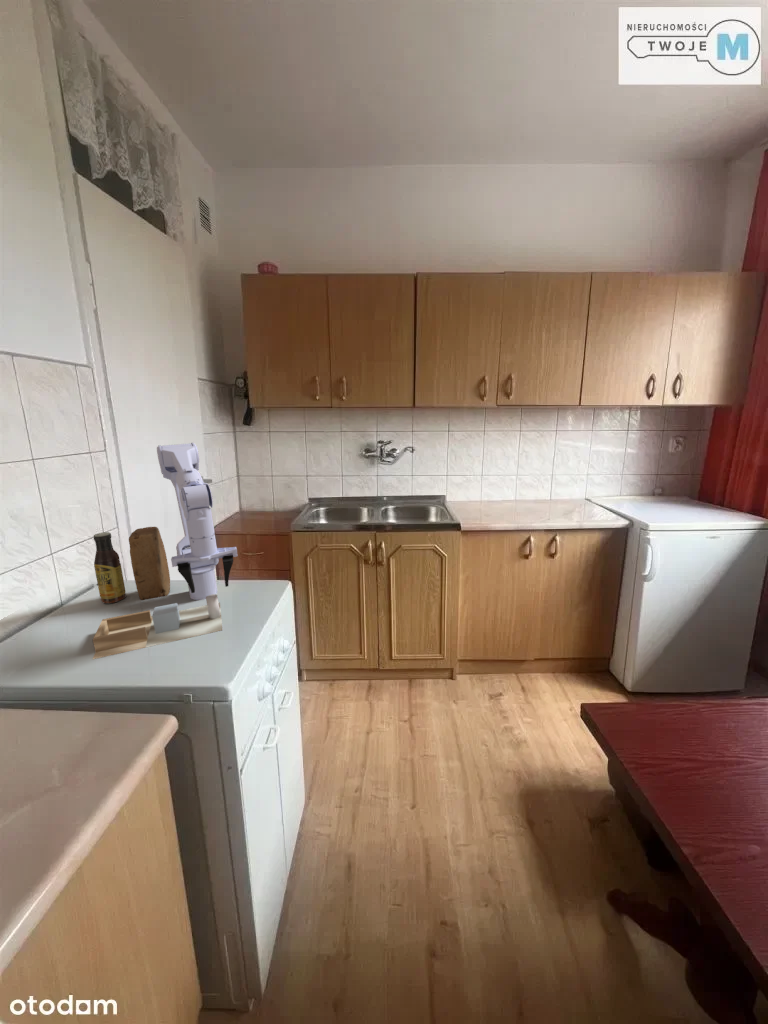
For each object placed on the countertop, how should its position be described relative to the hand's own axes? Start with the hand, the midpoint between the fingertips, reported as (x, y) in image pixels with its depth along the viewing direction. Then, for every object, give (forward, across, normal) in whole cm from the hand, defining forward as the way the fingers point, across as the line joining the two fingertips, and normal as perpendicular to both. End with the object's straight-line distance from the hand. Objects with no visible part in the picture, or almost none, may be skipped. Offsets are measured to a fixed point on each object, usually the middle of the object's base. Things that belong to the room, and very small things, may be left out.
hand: (210, 588), depth 104 cm
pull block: (+8, -6, 0) cm, 10 cm away
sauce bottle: (+10, -26, +28) cm, 40 cm away
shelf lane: (+9, -12, 0) cm, 15 cm away
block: (+10, -16, +26) cm, 32 cm away
